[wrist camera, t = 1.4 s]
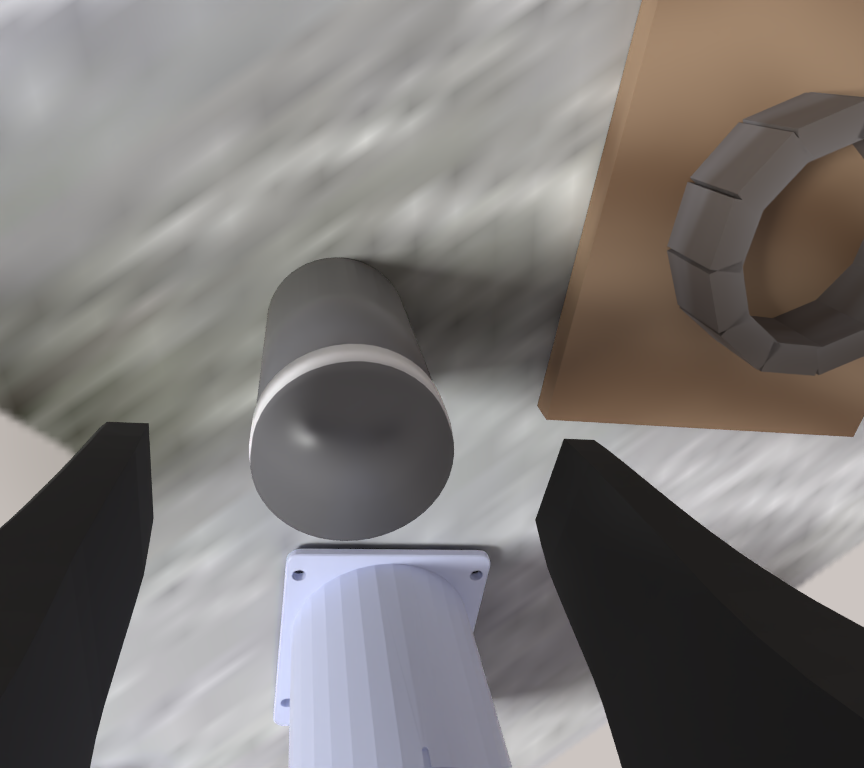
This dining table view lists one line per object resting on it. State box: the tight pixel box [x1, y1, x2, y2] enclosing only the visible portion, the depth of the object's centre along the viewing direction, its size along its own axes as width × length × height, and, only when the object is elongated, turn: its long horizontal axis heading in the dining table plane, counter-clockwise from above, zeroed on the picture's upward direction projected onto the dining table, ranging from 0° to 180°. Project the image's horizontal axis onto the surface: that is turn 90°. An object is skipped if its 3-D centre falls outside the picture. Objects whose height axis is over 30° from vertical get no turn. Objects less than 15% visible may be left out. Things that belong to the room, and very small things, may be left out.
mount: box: [537, 0, 864, 437], centre depth 21 cm, size 15×13×4 cm
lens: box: [249, 258, 454, 541], centre depth 18 cm, size 4×4×8 cm
